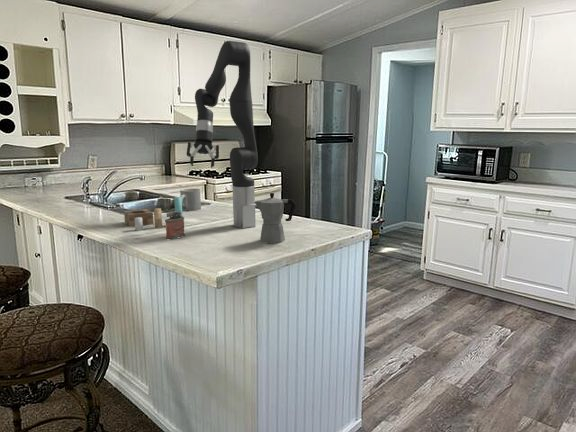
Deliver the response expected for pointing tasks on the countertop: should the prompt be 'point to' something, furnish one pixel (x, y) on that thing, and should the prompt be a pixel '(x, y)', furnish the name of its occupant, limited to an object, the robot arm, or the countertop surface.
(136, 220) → the grey pin
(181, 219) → the lighter
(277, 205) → the coffeepot
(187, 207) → the coffee mug
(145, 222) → the walnut block
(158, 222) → the beech pin
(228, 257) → the countertop surface
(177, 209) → the teal pin
